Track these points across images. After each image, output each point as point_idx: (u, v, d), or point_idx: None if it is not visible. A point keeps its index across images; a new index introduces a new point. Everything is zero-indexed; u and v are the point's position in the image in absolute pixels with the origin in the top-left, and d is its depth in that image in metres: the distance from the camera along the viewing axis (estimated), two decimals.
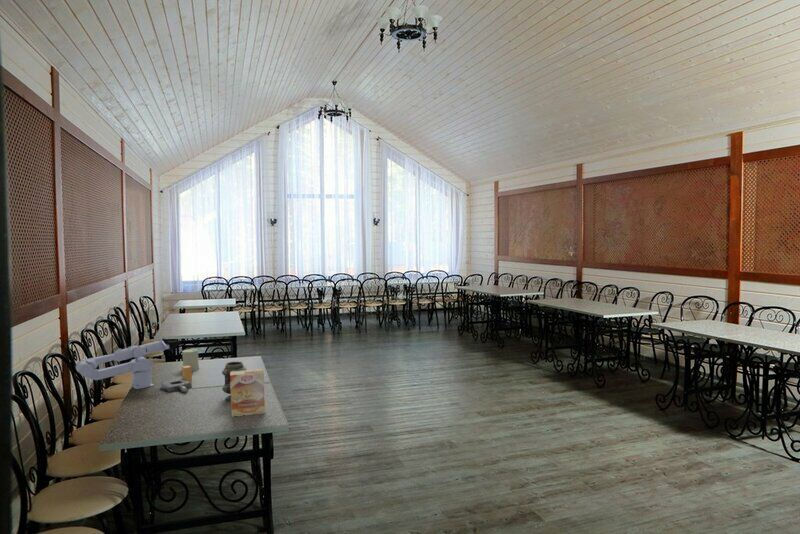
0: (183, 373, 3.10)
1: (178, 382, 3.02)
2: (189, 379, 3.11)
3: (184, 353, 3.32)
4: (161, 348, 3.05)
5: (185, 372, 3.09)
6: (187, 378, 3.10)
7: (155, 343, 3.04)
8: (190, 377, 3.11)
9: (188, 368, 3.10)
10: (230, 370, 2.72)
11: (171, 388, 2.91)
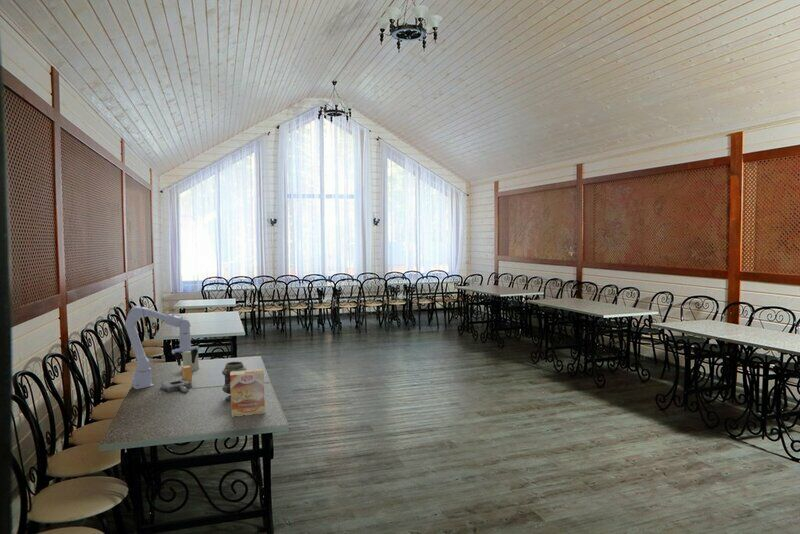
0: (183, 373, 3.10)
1: (178, 382, 3.02)
2: (189, 379, 3.11)
3: (184, 353, 3.32)
4: (180, 347, 3.09)
5: (185, 372, 3.09)
6: (187, 378, 3.10)
7: (184, 343, 3.07)
8: (190, 377, 3.11)
9: (188, 368, 3.10)
10: (230, 370, 2.72)
11: (171, 388, 2.91)
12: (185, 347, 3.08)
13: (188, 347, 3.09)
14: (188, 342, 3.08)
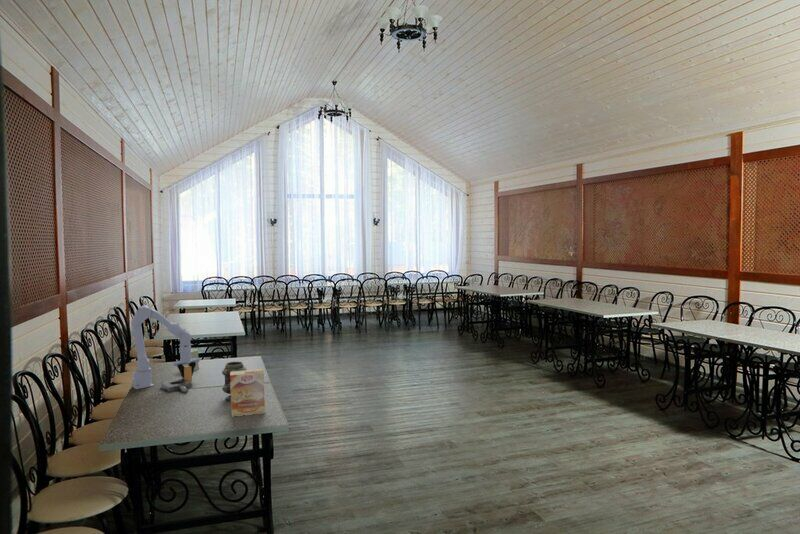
0: None
1: (178, 382, 3.02)
2: (189, 379, 3.11)
3: None
4: None
5: (185, 372, 3.09)
6: (187, 378, 3.10)
7: (184, 355, 3.08)
8: (190, 377, 3.11)
9: (188, 368, 3.10)
10: (230, 370, 2.72)
11: (171, 388, 2.91)
12: (186, 359, 3.08)
13: (189, 359, 3.09)
14: (189, 354, 3.09)
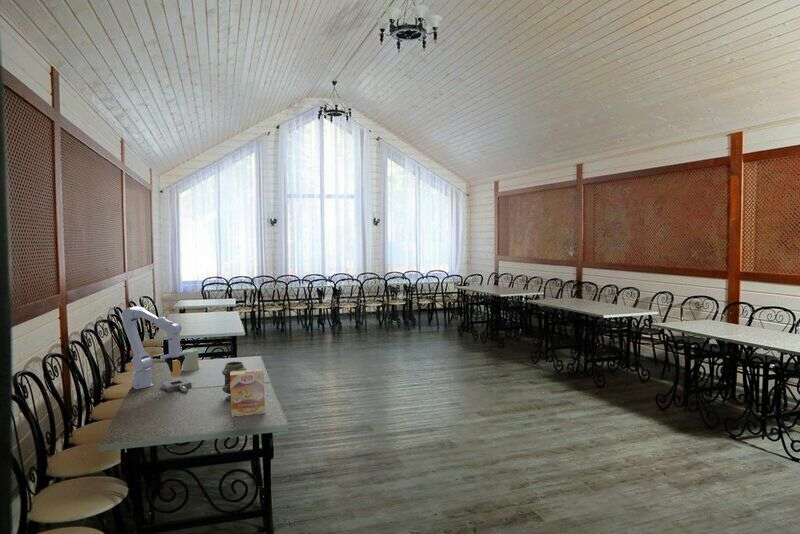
0: None
1: (178, 382, 3.02)
2: (178, 374, 2.97)
3: None
4: (169, 352, 2.97)
5: (174, 366, 2.96)
6: (176, 373, 2.97)
7: (173, 348, 2.95)
8: (179, 372, 2.98)
9: (177, 362, 2.97)
10: (230, 370, 2.72)
11: (171, 388, 2.91)
12: (174, 353, 2.95)
13: (177, 353, 2.96)
14: (177, 348, 2.96)
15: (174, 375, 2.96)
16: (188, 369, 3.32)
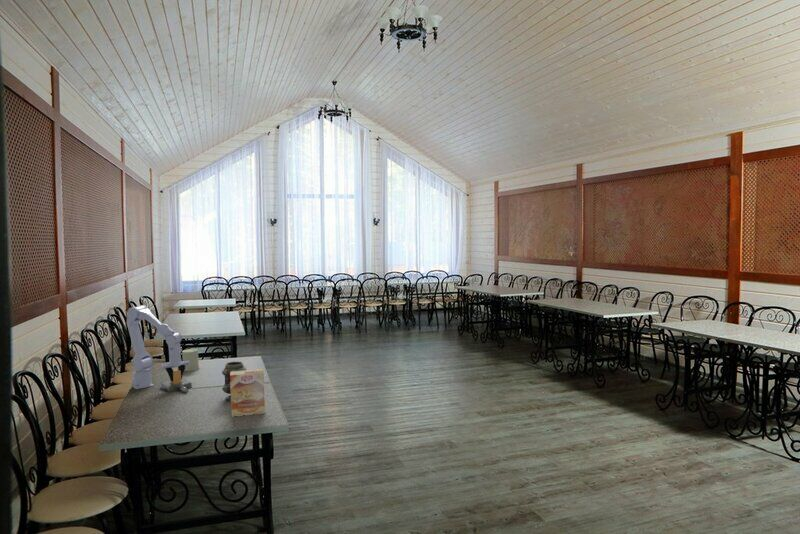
0: None
1: None
2: None
3: (184, 353, 3.32)
4: (169, 362, 2.97)
5: (174, 376, 2.96)
6: (176, 382, 2.97)
7: (173, 358, 2.95)
8: (179, 381, 2.98)
9: (177, 372, 2.97)
10: (230, 370, 2.72)
11: (171, 388, 2.91)
12: (175, 363, 2.95)
13: (178, 362, 2.96)
14: (178, 357, 2.96)
15: None
16: (188, 369, 3.32)
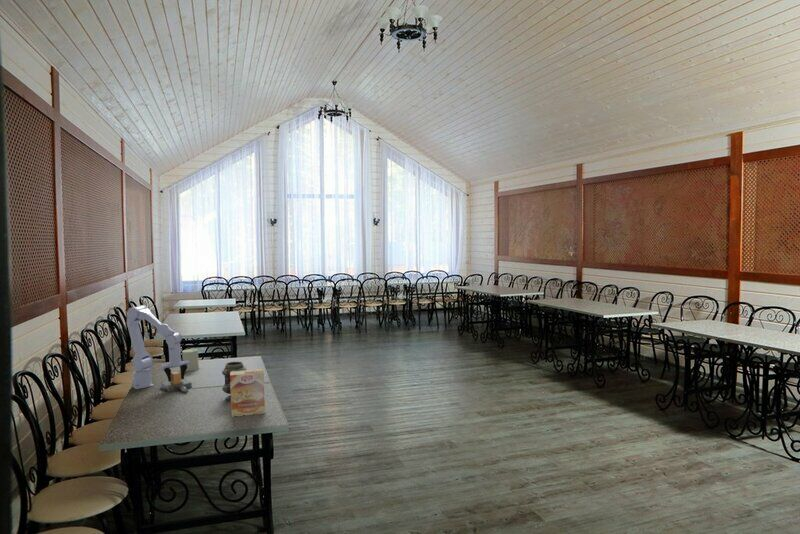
0: (172, 379, 2.97)
1: None
2: None
3: (184, 353, 3.32)
4: (169, 362, 2.97)
5: (174, 378, 2.96)
6: None
7: (173, 358, 2.95)
8: None
9: (177, 374, 2.97)
10: (230, 370, 2.72)
11: (171, 388, 2.91)
12: (175, 362, 2.95)
13: (178, 362, 2.96)
14: (178, 357, 2.96)
15: None
16: (188, 369, 3.32)
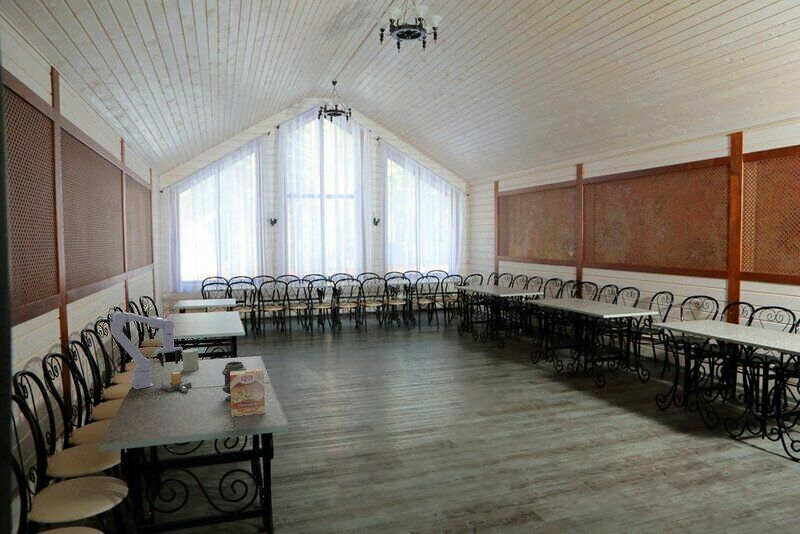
0: (172, 379, 2.97)
1: None
2: None
3: (184, 353, 3.32)
4: (163, 347, 3.08)
5: (174, 378, 2.96)
6: None
7: (167, 344, 3.06)
8: None
9: (177, 374, 2.97)
10: (230, 370, 2.72)
11: (171, 388, 2.91)
12: (168, 348, 3.06)
13: (171, 348, 3.07)
14: (171, 343, 3.07)
15: None
16: (188, 369, 3.32)
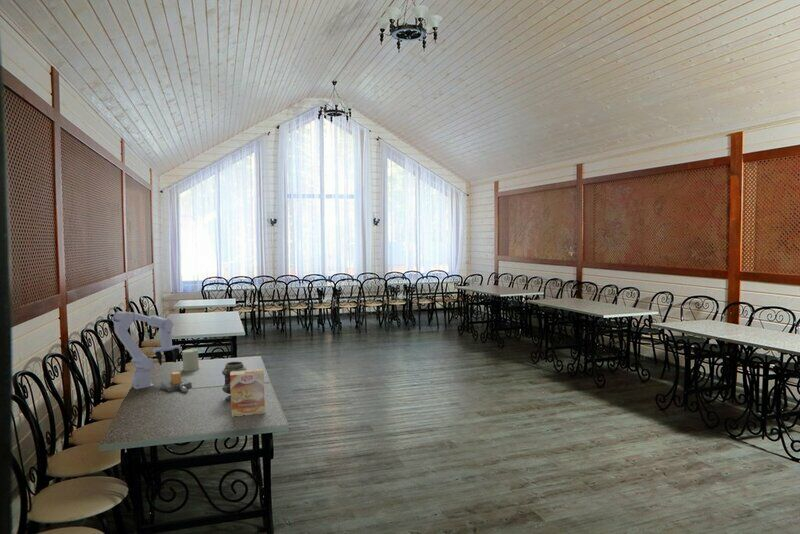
0: (172, 379, 2.97)
1: None
2: None
3: (184, 353, 3.32)
4: (161, 346, 3.12)
5: (174, 378, 2.96)
6: None
7: (165, 342, 3.10)
8: None
9: (177, 374, 2.97)
10: (230, 370, 2.72)
11: (171, 388, 2.91)
12: (166, 346, 3.10)
13: (169, 346, 3.12)
14: (169, 341, 3.11)
15: None
16: (188, 369, 3.32)
